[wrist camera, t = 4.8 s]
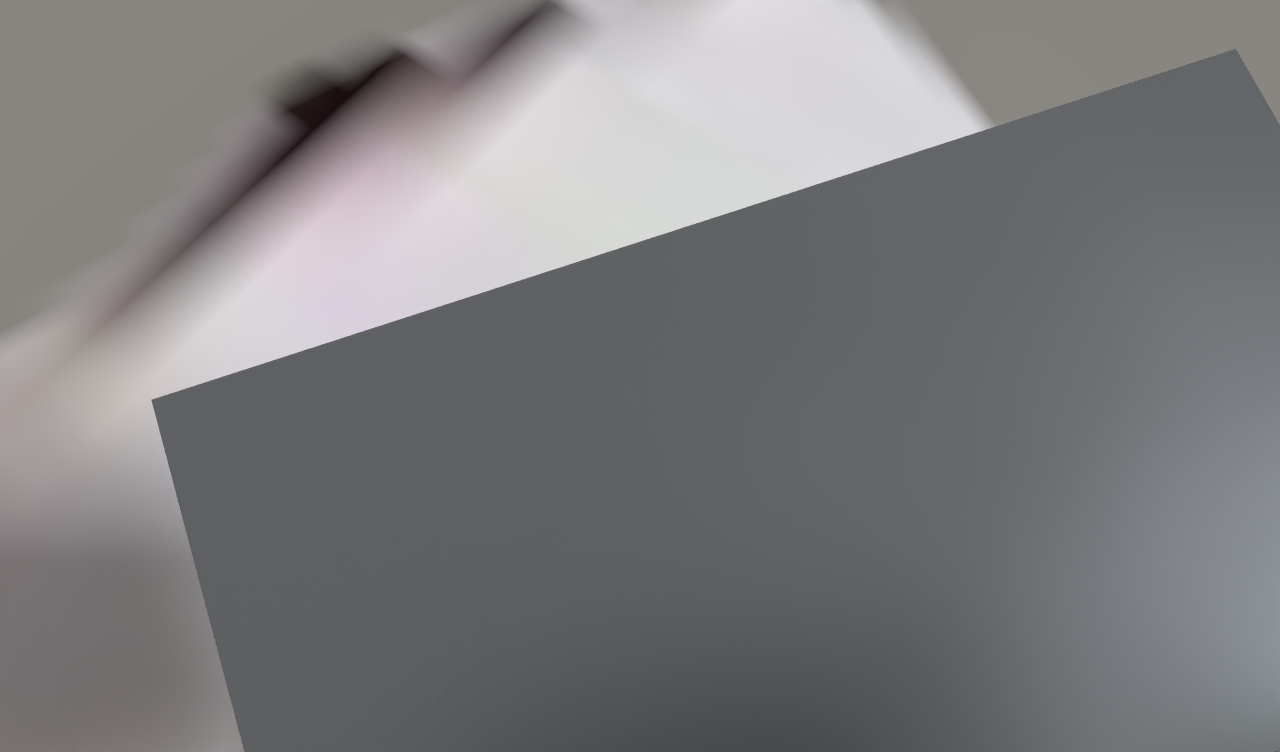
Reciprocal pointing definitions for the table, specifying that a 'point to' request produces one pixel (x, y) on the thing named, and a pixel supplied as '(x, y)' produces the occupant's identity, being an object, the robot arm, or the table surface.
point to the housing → (795, 471)
